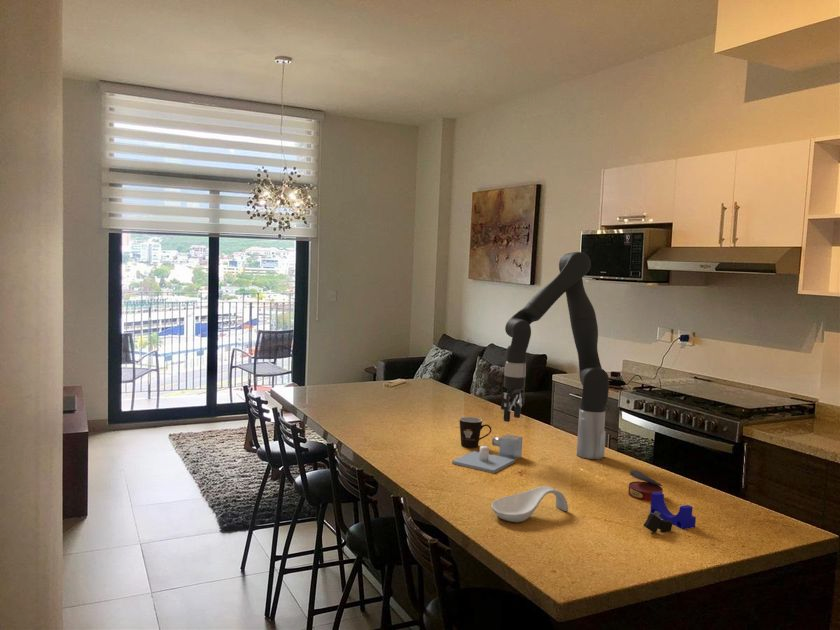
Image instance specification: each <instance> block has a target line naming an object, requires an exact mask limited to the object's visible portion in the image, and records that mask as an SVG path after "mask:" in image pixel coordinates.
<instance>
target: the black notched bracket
mask: <svg viewBox="0 0 840 630" xmlns="http://www.w3.org/2000/svg"><path fill="white" fill-rule="evenodd" d="M660 514H661V513H659V512H657V511H655V512H654V514H653V513H649V514H648V517H647V519H646V520H645V522H644V523H643V525H642V526H643V527H645V528H646V529H647V530H649V531H650V532H652V533H654V534H656V533H657V532H658V530H660V531H661V532H665V533H667V532H668V533H670V532H672V530H673V523H672V522H671V521H670V520H663V519H661V517H659V516H660Z"/></svg>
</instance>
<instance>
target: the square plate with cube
mask: <svg viewBox="0 0 840 630" xmlns="http://www.w3.org/2000/svg"><path fill="white" fill-rule="evenodd" d="M489 452H490V447H489V446H485V445H481V446H479V451H476V450H473V451H470V452H468V453H467V454H464V455H462V456H459V457H456V459H453V460H452V461H451V464H453V465H457V466H459V467H465V468H470V469H474V470H479V471H483V472H486V473H487V472H488V473H492V474H495V473H498V472H499V471H501V470H503V469H504V468H507V467H509V466H510V465H512V464H515V463H516V460H515V459H510V458H506V457H501V456H499V455H495V454H492V453H491V454H490V453H489Z"/></svg>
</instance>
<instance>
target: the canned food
mask: <svg viewBox="0 0 840 630" xmlns="http://www.w3.org/2000/svg"><path fill="white" fill-rule="evenodd" d="M629 475H630V476H631V477H632V478H635V479H637V480H639V481H631V482H629V483H628V493H627V494H628V496H629V497H631V498H633V499H635V500H638V501H643V502H651V497H652V493H658V492H661V493H663V490H664V489H663V487H662V486H663V485H662V484H661V483H659V482H658V481H656V480H655V479H653V478H651V477H650V476H648V475H646V474H645V473H643V472H641V471H639V470H637V469H631V470H629Z"/></svg>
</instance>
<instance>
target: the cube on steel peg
mask: <svg viewBox="0 0 840 630" xmlns="http://www.w3.org/2000/svg"><path fill="white" fill-rule="evenodd" d="M523 440H524V439H523V436H520V435H519V436H518V435H514V434H505V435H502V436H500V437H499V436H493V437H492V439H491V444H492V446H495V447H499V455H498V456H501V457H506V458H510V459H515V461H516V460H518V459H520V458H522V454H523Z"/></svg>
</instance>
